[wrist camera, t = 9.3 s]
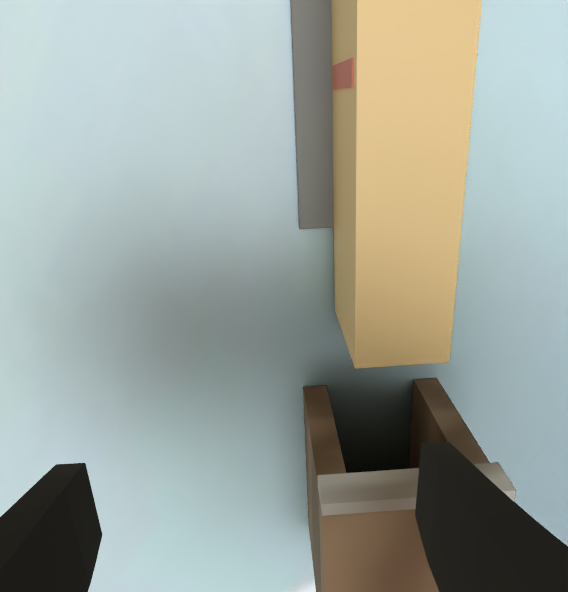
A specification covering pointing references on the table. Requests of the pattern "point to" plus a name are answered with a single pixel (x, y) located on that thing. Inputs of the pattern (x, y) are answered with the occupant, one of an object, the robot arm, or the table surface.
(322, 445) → the brown wooden open box
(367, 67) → the tan rectangular block
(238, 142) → the table surface
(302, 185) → the mat
